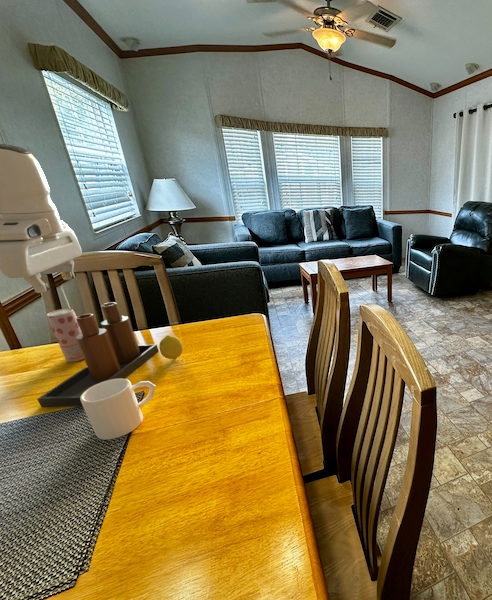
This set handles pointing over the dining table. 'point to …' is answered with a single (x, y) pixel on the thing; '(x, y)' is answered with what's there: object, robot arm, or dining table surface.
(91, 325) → the bottle middle
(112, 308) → the bottle back
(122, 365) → the tray
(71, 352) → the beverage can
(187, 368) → the dining table surface
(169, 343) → the lemon
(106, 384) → the mug
